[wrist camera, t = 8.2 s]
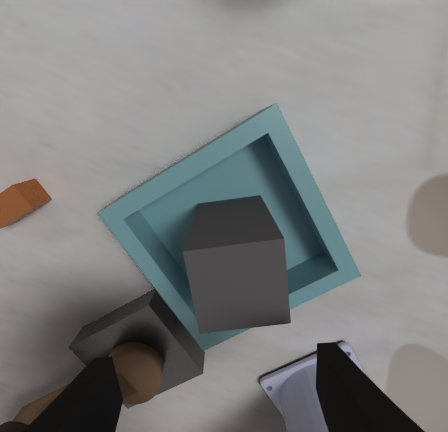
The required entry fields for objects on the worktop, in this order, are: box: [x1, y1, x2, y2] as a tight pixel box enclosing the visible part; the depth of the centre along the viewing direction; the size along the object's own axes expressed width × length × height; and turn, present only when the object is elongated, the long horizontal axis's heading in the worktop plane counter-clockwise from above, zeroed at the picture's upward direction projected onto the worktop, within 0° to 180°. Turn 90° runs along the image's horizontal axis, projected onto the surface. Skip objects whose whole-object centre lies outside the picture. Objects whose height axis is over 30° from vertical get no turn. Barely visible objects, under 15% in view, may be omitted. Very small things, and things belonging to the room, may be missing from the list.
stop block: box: [183, 195, 291, 334], centre depth 15 cm, size 4×4×7 cm
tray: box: [98, 103, 361, 351], centre depth 17 cm, size 11×11×4 cm
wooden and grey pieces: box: [0, 179, 205, 408], centre depth 20 cm, size 18×7×2 cm, turn 30°
